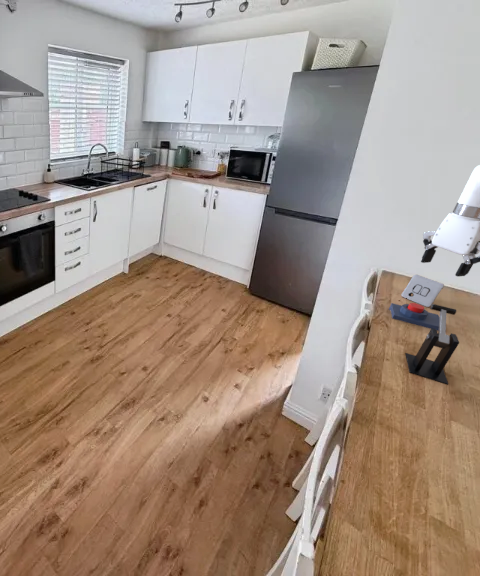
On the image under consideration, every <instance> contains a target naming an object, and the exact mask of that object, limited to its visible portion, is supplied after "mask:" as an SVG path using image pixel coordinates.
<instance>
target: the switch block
mask: <svg viewBox="0 0 480 576" xmlns="http://www.w3.org/2000/svg"><path fill="white" fill-rule="evenodd" d="M409 304H410V303H404V304H401V305H400V304H397V303H393V302H391V303H390V306H389V307H388V310H389V311H390V314H391V319H393V320H397V321H401V322H404V323H408V324H410V325H411V324H412V325H415V326H418V327H419V326H420V327H424V328H427V329H429V330H431V328H433V329H436V330H437V332H439V317H440V314H437V313H432V312H429V311H428V310H426V309H425V308H424V310H423V312H422V313H417V312H413V311H411V310H409V309H408V308H407V307H408V306H409Z"/></svg>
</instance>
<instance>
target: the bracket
mask: <svg viewBox="0 0 480 576" xmlns="http://www.w3.org/2000/svg"><path fill="white" fill-rule="evenodd" d="M438 333H439V332H438V330H436V329H433V328H431V329H429V332H428V333H427V334H426V336H425V339H424V341H423V342H422V344H421V346H420V348H419V349H418V351H417V353H416V355H414V354H411V353H408V352H405V353H404V354H405V359H406V364H407V368H408V373H409V374H412V375H415V376H418V377H421V378H424V379H428V380H431V381H434V382H438V383H440V384H444V385H446V386H448V385H449V381H448V378H447V375H446V373H445V370H444V369H445V367H446V365H447V364H448V362H449V360H450V358H452V355H453V354H454V352H455V351H456V349H457V347H458V346H459V344H460V341H459V338H458V336H457V334H455V333H453V332H452V333H450V334H449V336H450V342H449V345H448V346H447V347H446V348H445V349H443V348H440V351H439V352H438V355H436V357H435V359H434V360H431V359H428V356H429V355H430V354H431V352H432V350H433V348H434V347H435V346H434V345H435V343H436V342H437V340H438V338H439V336H438Z"/></svg>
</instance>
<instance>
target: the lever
mask: <svg viewBox="0 0 480 576" xmlns="http://www.w3.org/2000/svg"><path fill="white" fill-rule="evenodd" d="M429 308H430V310H431V311H436V312H439V331H438V332H437V333H438V336H439V338H438V340H437V342H436V343H435V345H434V347H436V348H439V349H442V348H443V349H445V348H446V347H447V346H448V345H449V342H450V334H446V332H447V314H448V315H453V316H455V315H456V313H457V309H456V308H452V307H448V306H443V305H439V304H435V303H433V304H432V305H431V306H430V307H429Z"/></svg>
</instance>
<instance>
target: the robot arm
mask: <svg viewBox="0 0 480 576" xmlns="http://www.w3.org/2000/svg"><path fill="white" fill-rule="evenodd" d="M422 236H423V237H422V238H423V240H422V242H423V245H424V248H423V249H424V253H423V255H422V257H421V260H420V263H423V264H427V263H431V262H432V260H433V258H434V257H435V255H436V252H437V250H436V249H437V248H440V249H442V250H444V251H449V252H451V253H455V254H457V255H461V256H462V259H463V261H464V262H461V263H460V264H459V266H458V269H457V270H456V272H455V274H454V275H455V277H465V276H467V275H468V274H469V273H470V271H471V269H472V267H473V265H476V264H478V263H480V255H478V254H480V164H478V165H476V166H475V167H474V168H473V170H472V172H471V174H470V176H469V178H468V180H467V182H466V184H465V186H464V188H463V189H462V192H461V194H460V196H459V198H458V200H457V202H456V204H455V206H454V208H453V210H452V211H451V212H449V213H448V214H447V216H446V217H445V218H444V219H443V220H442V222H441V223H440V225H439V226H438V227H437V230H432V231H431V230H430V231H425V232H423V234H422ZM431 238H432V239H431ZM476 255H478V256H476Z"/></svg>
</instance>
